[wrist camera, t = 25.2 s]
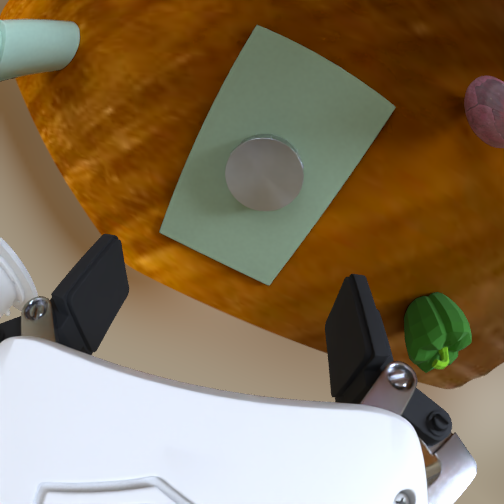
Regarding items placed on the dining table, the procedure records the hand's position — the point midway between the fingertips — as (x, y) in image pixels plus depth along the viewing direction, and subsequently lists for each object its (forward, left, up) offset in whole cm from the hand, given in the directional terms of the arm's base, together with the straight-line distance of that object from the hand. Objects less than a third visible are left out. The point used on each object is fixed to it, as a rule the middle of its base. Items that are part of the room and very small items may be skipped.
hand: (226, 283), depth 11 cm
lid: (0, 0, -13) cm, 13 cm away
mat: (0, 0, -15) cm, 15 cm away
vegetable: (+17, -13, -15) cm, 27 cm away
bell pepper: (-4, -26, -15) cm, 31 cm away
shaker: (+4, +26, -15) cm, 30 cm away
